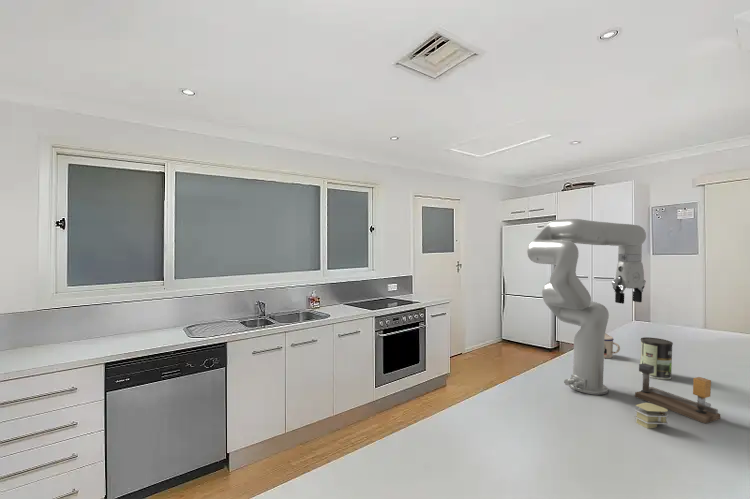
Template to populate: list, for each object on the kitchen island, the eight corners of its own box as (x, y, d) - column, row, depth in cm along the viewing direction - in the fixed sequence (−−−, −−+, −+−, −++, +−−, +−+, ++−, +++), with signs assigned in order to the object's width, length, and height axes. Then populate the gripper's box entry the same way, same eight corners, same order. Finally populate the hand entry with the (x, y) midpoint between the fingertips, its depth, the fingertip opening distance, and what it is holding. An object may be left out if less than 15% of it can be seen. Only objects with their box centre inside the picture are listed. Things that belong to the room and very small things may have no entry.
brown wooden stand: (705, 423, 109) (706, 387, 109) (633, 396, 128) (634, 365, 128) (720, 418, 112) (721, 383, 112) (648, 392, 131) (649, 362, 131)
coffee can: (671, 374, 150) (672, 340, 150) (671, 381, 142) (673, 345, 141) (639, 368, 156) (641, 335, 156) (639, 375, 148) (640, 340, 148)
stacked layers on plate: (652, 436, 102) (653, 416, 102) (623, 420, 110) (624, 402, 110) (680, 431, 104) (680, 412, 104) (649, 417, 113) (649, 399, 113)
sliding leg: (704, 413, 111) (705, 381, 111) (692, 409, 114) (693, 378, 114) (713, 410, 113) (714, 379, 113) (701, 406, 116) (702, 376, 116)
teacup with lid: (586, 354, 175) (587, 330, 175) (595, 351, 180) (596, 327, 180) (615, 361, 165) (615, 335, 165) (623, 358, 171) (624, 333, 170)
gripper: (623, 259, 137) (622, 305, 138) (654, 259, 143) (653, 302, 144) (604, 258, 144) (603, 301, 145) (635, 258, 150) (634, 299, 151)
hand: (628, 302), depth 144 cm, fingers open, 9 cm apart
